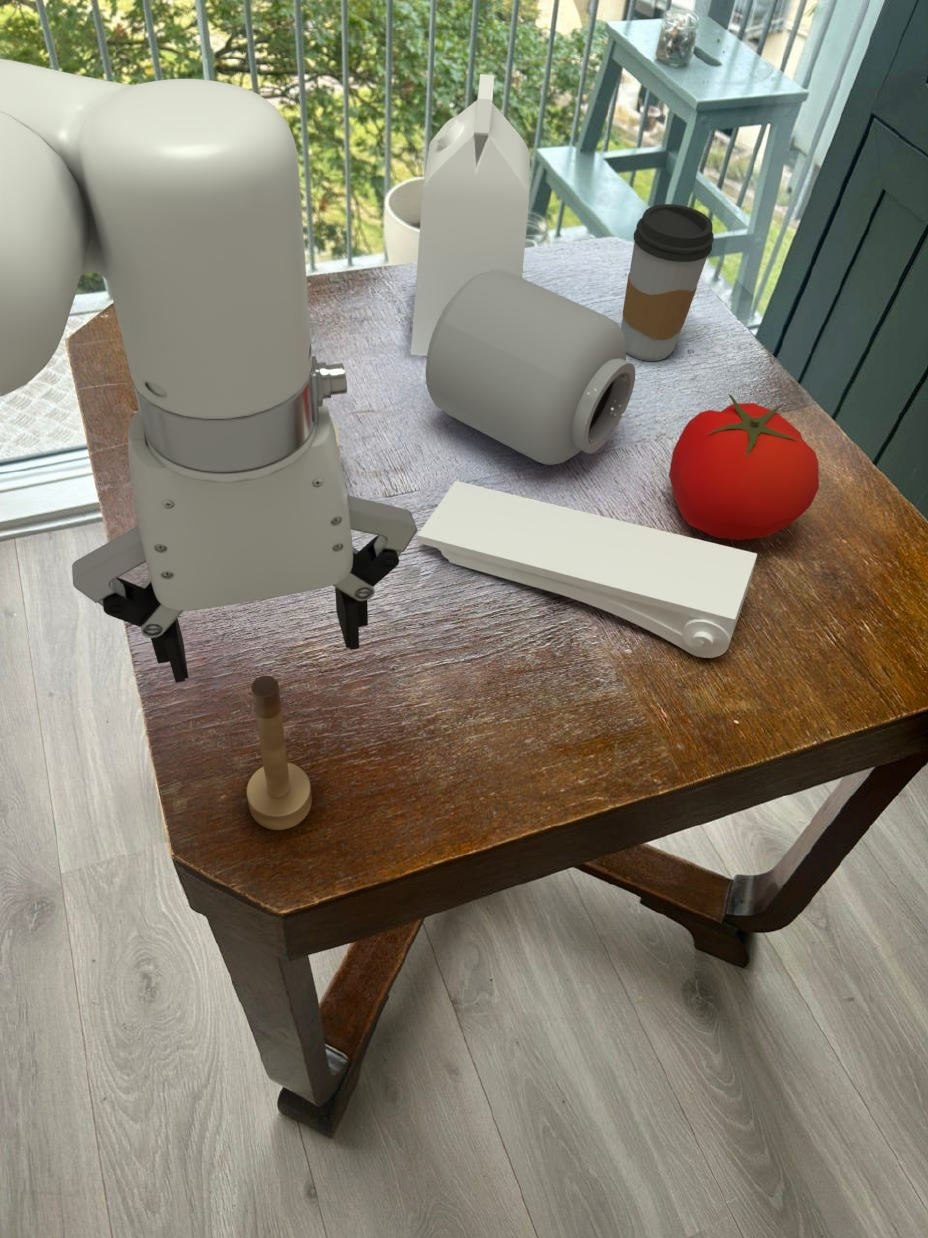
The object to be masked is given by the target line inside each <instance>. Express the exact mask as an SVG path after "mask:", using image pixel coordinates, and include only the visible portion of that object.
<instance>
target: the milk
mask: <svg viewBox="0 0 928 1238" xmlns="http://www.w3.org/2000/svg"><path fill="white" fill-rule="evenodd" d="M494 85H495V75H492V74H483V73H480V74H479V82H478V89H477V98H476V100H475V101H474V102H472V103H471V104H470V105H469V106H468V107H466V108H465V109H464V110H462V111H461V112H460V113H459V114H457V115H456V116H454V117H451V118H449V120H447V121H446V122H445V124H443V126H442V127H440V129H439V131H437V133H436V134H435V135H434V136H433V138H432V140H431V141H430V142H429V145H428V146H429V147H428V153H427V157H426V158H427V159H426V165H425V171H424V177H423V186H422V197H421V208H420V209H421V210H420V222H419V223H420V224H419V236H418V237H419V238H418V247H417V248H418V251H417V261H416V262H417V263H416V277H415V278H416V279H415V289H414V301H413V302H414V303H413V304H414V305H413V318H412V319H413V320H412V328H411V329H412V331H411V344H410V356H419V357H427V353H428V348H429V343H430V340H431V337H432V334H433V331H434V329H435V326H436V324H437V322H438V319H439V318H440V316H441V314H442V312H443V310H444V309H445V307H446V306H447V304H448V303H449V301H450V300H451V299H452V297H453V296H454V295H455V294H456V293H457V292H458V290H459V289H460V288H461V287H462V286H463V285H464V284H465V283H467V282H468V281H469V280H470V279H471V278H473V277H475V276H476V275H478V274H480V273H484V272H487V271H491V270H502V271H505V272H509V273H511V274H513V275H516V276H518V277H520V278H522V279H523V273H524V262H525V250H526V240H527V229H528V228H527V227H528V216H529V207H530V192H531V191H530V190H531V187H530V186H531V151H530V150H529V148H528V145H527V144H526V142H525V140H524V139H523V137H522V136H521V135H520V133H519V132H518V131H517V130H516V129H515V127H514V126H513V125H512V124H511V122H509V120H508V119H507V118H506V116H504V115H503V113H502V112H501V111H500V109H498V108H497V106H496V105H495V104H494V103H493V98H494Z"/></svg>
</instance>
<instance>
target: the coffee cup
mask: <svg viewBox="0 0 928 1238" xmlns="http://www.w3.org/2000/svg"><path fill="white" fill-rule="evenodd" d="M713 226H714V225H713V222H712V220H711V218H709V217H708V216H707V215H706V214H704V213H703V212H701V211H700V210H697V209H695V208H692V207H690V206H685V205H682V204H675V203H662V204H655V205H653V206H650V207H648V208H646V210H644V213H643V214H642V217H641V218H639V220H638V221H637V223H636V227H635V230H634V233H633V241H634V242H633V248H632V254H631V261H630V267H629V272H628V274H627V281H626V287H625V295H624V301H623V307H622V320H621V326H620V329H621V331H622V333H623V335H624V337H625V344H626V354H628V355H629V356H631V357H633V358H635V359H637V360H640V361H646V362H657V361H662V360H665V359H667V358H668V357H669V356H670V355H671V354H672V353H673V352H674V350H675V348H676V345H677V342H678V340H679V338H680V335H681V331H682V329H683V327H684V325H685V322H686V319H687V316H688V314H689V311H690V308H691V305H692V303H693V301H694V297H695V295H696V293H697V292H696V291H697V289H698V288H697V287H698V284H699V281H700V279H701V276H702V274H703V270H704V268H705V264H706V263H707V262H706V261H707V259H708V256H709V255H711V252H712V251H713V242H714V233H713V228H714V227H713Z"/></svg>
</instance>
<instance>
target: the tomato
mask: <svg viewBox="0 0 928 1238" xmlns="http://www.w3.org/2000/svg"><path fill="white" fill-rule="evenodd" d="M727 395H728V396H729V398H730V400H731V402H732V404H730V405H728V406H727V407H725V408H724V409H722V410H720V411H719V410H713V409H707V410H704V411H700V412H699V413H698V414H696V415H695V416H694V417H692V418H691V419H690V420H689V421H688V422H687V424H685V426H684V428H683V430H682V432H681V434H680V436H679V438H678V440H677V441H676V443H675V446H674V447H673V451H672V456H671V460H670V467H669V474H668V476H669V481H670V484H671V489H672V493H673V497H674V501H675V504H676V506H677V508H678V510H679V512H680V514H681V515H682V518H683V519H684V521H685V522H686V523H687V524H688V526H691V527H693V528H695V529H697V530H698V531H699V530H700V532H703V533H705V534H706V535H707V534H708V535H709V536H712V537H714V538H719V539H727V540H736V541H737V540H738V541H745V540H752V539H760V538H764V537H768V536H771V535H773V534H775V533H777V532H779V531H781V530H783V529H786V528H787V527H789V526H790V525H791V524H792V523H794V522H795V521H796V520H797V519H799V518H800V517H801V516H803V514H804V513H805V512H806V511H807V510H808V509H809V508H810V507H811V506H812V504H813V502H814V500H815V498H816V495H817V493H818V491H819V489H820V482H819V480H820V476H819V475H820V472H819V459H818V457H817V456H818V455H817V453H816V451H815V450H814V449H813V448H812V447H811V446H810V445H809V444H808V443H807V442H806V441H805V440H804V439H803V436H802V433H801V432H800V431H799V430H798V429H797V428H796V427H795V426H793V425H792V424H791V423H790V422H789V421H788V420H786V418H784V417H783V416H782V415H781V414H780V413H778V412H777V411H778V410H779V409H780V408H781V407H782V406H783V405H784V403H781V404H780V405H779V406H777V407H775V408H774V409H772V410H771V409H768V408H767V407H764V406H762V405H760V404H757V403H754V402H748V403H747V402H745V403H738V402H737V400H736V399H735V397H734V396H733V395H731V394H730V393H727Z"/></svg>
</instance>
